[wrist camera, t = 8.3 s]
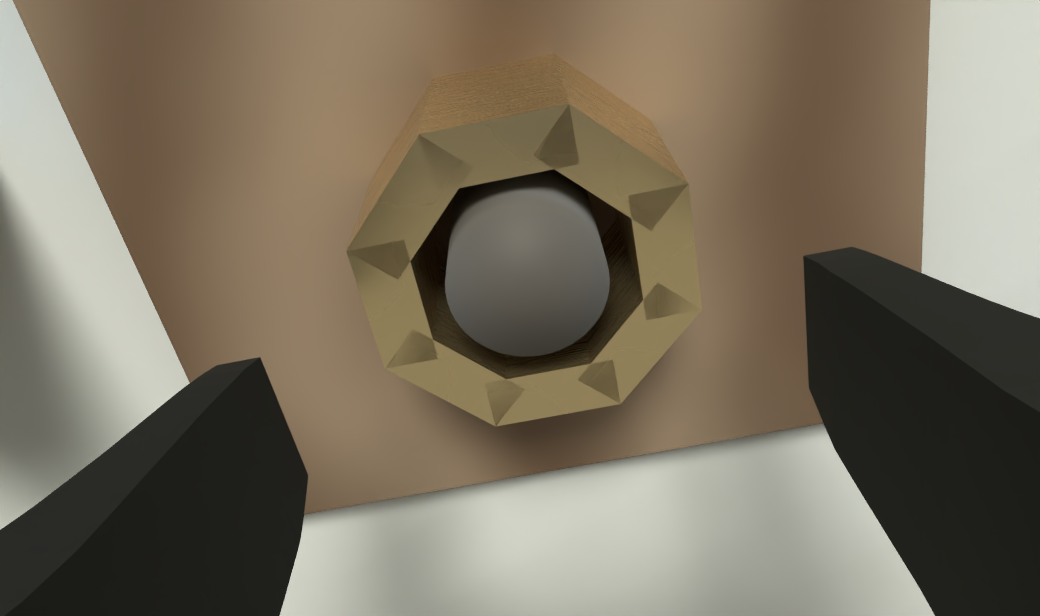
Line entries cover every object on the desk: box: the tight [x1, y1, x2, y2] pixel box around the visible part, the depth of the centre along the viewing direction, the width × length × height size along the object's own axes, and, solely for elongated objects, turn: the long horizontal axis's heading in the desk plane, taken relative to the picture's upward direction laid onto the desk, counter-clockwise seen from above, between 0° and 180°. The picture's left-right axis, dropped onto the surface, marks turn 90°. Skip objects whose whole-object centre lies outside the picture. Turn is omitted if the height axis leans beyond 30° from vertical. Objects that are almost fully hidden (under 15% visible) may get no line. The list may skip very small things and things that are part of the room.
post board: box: [13, 0, 930, 514], centre depth 16 cm, size 16×14×5 cm
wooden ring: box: [346, 53, 702, 426], centre depth 15 cm, size 6×6×4 cm
